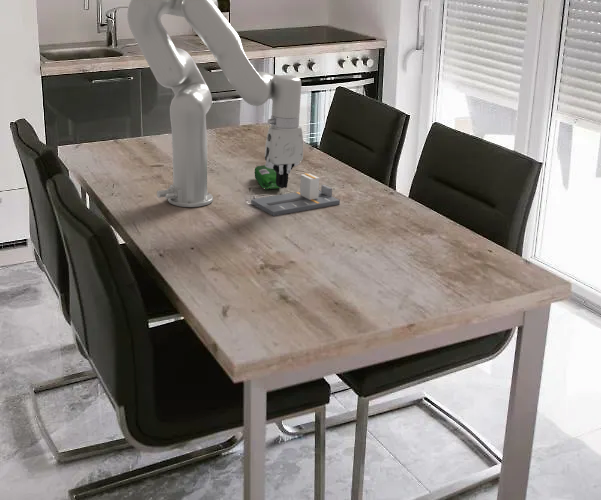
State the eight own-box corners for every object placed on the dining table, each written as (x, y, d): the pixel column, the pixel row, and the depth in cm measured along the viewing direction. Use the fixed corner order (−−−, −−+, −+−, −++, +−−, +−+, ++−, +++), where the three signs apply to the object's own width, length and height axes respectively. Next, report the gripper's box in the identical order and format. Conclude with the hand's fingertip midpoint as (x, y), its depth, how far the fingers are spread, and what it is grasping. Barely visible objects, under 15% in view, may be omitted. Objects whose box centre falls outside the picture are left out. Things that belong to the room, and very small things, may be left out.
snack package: (262, 194, 262) (263, 177, 260) (252, 178, 276) (252, 162, 274) (286, 193, 264) (287, 176, 262) (274, 177, 278) (275, 161, 276)
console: (273, 216, 244) (273, 203, 242) (251, 203, 253) (251, 191, 252) (339, 204, 255) (340, 192, 254) (316, 192, 264) (316, 180, 263)
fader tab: (309, 199, 253) (310, 178, 251) (300, 194, 257) (300, 174, 255) (318, 198, 255) (319, 177, 252) (308, 193, 258) (309, 172, 256)
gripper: (268, 127, 236) (265, 193, 243) (315, 123, 244) (311, 187, 251) (254, 120, 242) (251, 185, 249) (300, 116, 250) (296, 180, 257)
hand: (281, 186), depth 250 cm, fingers closed
